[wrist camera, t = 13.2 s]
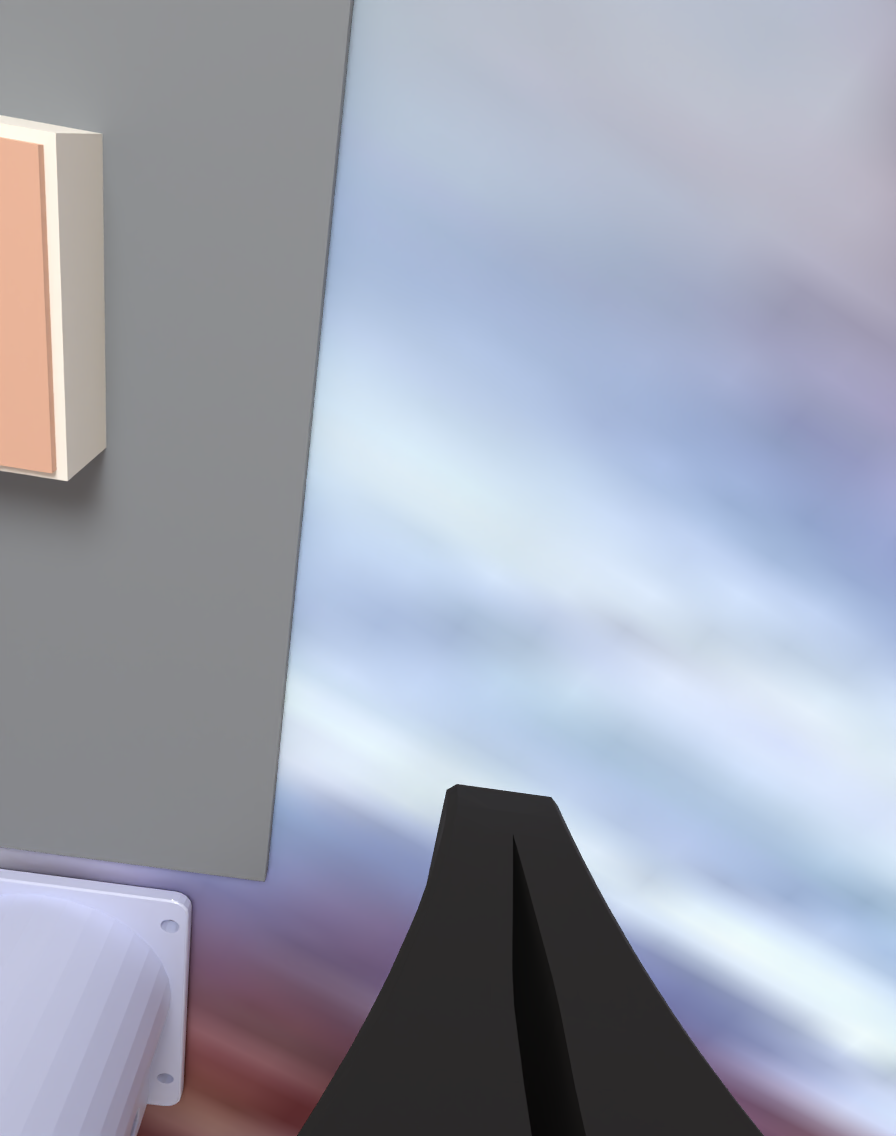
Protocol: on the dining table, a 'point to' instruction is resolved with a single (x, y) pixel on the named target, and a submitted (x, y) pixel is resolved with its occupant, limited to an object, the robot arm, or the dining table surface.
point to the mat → (173, 430)
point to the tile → (51, 299)
